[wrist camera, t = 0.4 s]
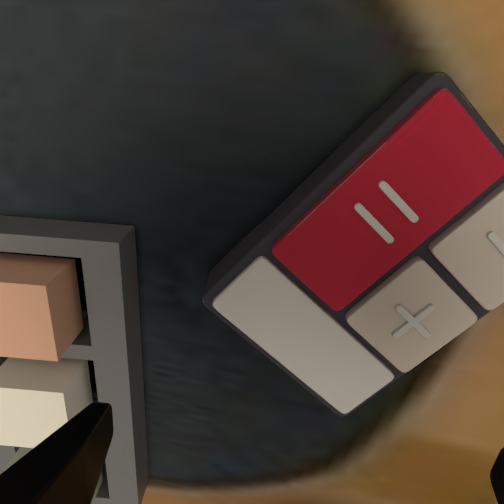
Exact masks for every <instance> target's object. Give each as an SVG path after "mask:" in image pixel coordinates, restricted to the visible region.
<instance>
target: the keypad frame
mask: <svg viewBox="0 0 504 504" xmlns="http://www.w3.org/2000/svg"><path fill="white" fill-rule="evenodd" d="M1 251H2V252H14V253H26V254H39V255H51V256H63V257H75V258H81V261H82V269H83V277H84V286H85V294H86V303H87V311H88V320H86V319H83V327H84V328H83V329H82V331H81V332H80V333H79V334H78V336H77V337H76V338H75V340H74V341H73V342H72V344H71V345H70V346H69V348H68V349H67V350H66V352H65V353H64V354H63V356H62V357H61V358H71V359H82V360H93V362H94V370H95V379H96V387H97V395H98V399H93V402H104V403H109V404H111V406H112V413H113V437H112V441H111V444H110V447H109V450H108V453H107V456H106V459H105V463H106V465H103V468H102V478H103V481H102V483H101V486H100V488H99V490H98V493H97V495H96V497H95V500H94V502H93V504H141V502H142V499H143V496H144V493H145V489H146V486H147V483H148V480H149V469H148V451H147V433H146V415H145V398H144V380H143V362H142V345H141V327H140V309H139V292H138V274H137V256H136V239H135V226H130V225H118V224H105V223H93V222H80V221H68V220H55V219H43V218H30V217H18V216H5V215H0V253H1ZM8 358H9V357H0V366H1V365H2V364H3V363H4V362H5V361H6V360H7V359H8ZM19 448H20V447H15V446H4V445H0V474H1V473H2V472H4V471H5V468H6V467H7V465H8V464H9V463H10V461H11V460H12V458H13V457H14V455H15V454H16V452H17V451H18V449H19Z"/></svg>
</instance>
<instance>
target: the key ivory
mask: <svg viewBox="0 0 504 504" xmlns="http://www.w3.org/2000/svg"><path fill="white" fill-rule="evenodd" d="M91 403H93V399H92V391H91V383H90V375H89V367H88V360H82V359H71V358H60V360H59V361H46V360H35V359H23V358H11V357H9V358H8V359H7V360H6V361H5V362H4V363H3V364H2V365H1V366H0V445H4V446H15V447H26V448H34V447H36V446H37V445H38V444H39V443H41V442H42V441H43V440H45V439H46V438H47V437H48V436H50V435H51V434H52V433H53V432H55V431H56V430H57V429H59V428H60V427H61V426H62V425H64V424H65V423H66V422H68V421H69V420H70V419H71V418H73V417H74V416H75V415H76V414H78V413H79V412H80V411H82V410H83V409H84V408H85V407H87V406H88V405H89V404H91Z"/></svg>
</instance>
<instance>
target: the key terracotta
mask: <svg viewBox="0 0 504 504" xmlns="http://www.w3.org/2000/svg"><path fill="white" fill-rule="evenodd" d="M83 328H84V327H83V319H82V311H81V303H80V295H79V287H78V279H77V271H76V263H75V259H68V258H55V257H43V256H31V255H19V254H6V253H0V357H11V358H23V359H35V360H46V361H59V360H60V358H61V357H62V356H63V354H64V353H65V352H66V350H67V349H68V348H69V346H70V345H71V344H72V342H73V341H74V340H75V338H76V337H77V336H78V334H79V333H80V332H81V331H82V329H83Z"/></svg>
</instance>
